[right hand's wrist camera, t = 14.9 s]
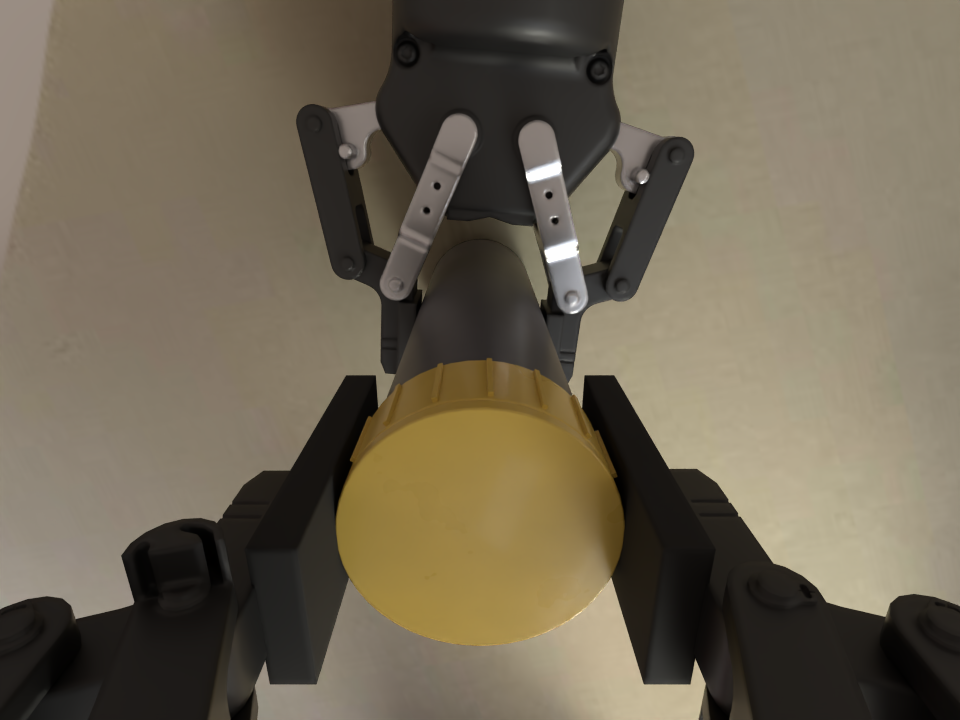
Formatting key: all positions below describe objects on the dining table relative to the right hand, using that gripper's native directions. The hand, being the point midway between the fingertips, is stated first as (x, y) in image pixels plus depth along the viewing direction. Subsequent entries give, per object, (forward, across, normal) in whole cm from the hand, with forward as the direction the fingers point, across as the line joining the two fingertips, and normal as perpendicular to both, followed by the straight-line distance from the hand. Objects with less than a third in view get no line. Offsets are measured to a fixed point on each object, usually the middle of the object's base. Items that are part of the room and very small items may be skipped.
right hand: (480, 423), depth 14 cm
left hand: (+8, 0, -3) cm, 9 cm away
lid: (-4, 0, 0) cm, 4 cm away
